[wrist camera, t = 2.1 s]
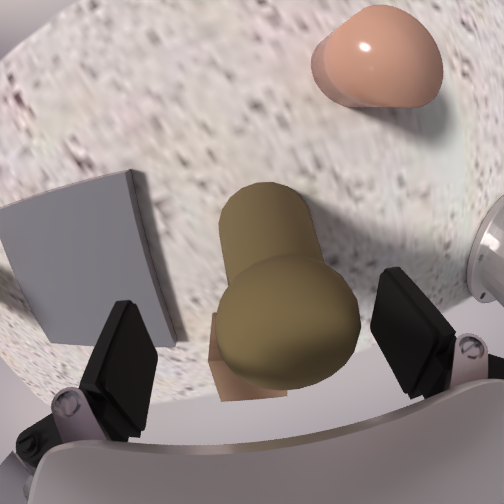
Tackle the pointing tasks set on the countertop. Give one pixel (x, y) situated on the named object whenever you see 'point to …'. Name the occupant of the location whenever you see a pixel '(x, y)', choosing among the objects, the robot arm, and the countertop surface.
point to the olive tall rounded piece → (280, 294)
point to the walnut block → (233, 377)
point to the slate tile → (84, 259)
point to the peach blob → (379, 61)
